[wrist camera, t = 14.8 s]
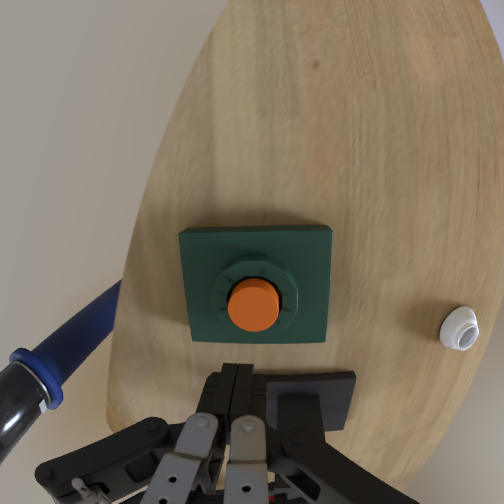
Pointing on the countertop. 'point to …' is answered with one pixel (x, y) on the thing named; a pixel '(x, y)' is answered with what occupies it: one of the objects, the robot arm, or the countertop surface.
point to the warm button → (253, 305)
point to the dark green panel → (262, 267)
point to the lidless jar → (459, 329)
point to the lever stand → (307, 409)
